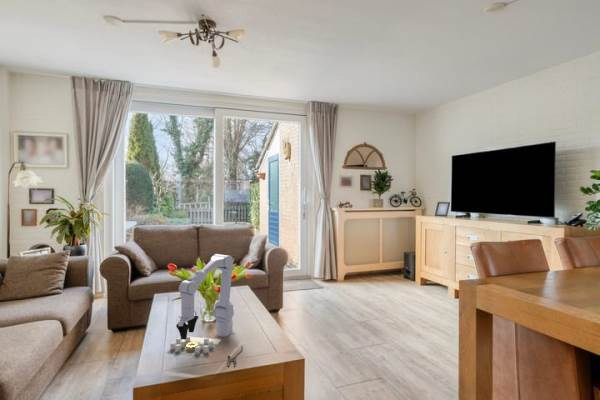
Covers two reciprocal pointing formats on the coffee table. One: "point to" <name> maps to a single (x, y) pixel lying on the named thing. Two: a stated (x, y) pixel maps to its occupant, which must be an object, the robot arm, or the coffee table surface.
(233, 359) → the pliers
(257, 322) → the coffee table surface
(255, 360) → the coffee table surface
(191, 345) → the nut
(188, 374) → the coffee table surface
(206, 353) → the spacer board
